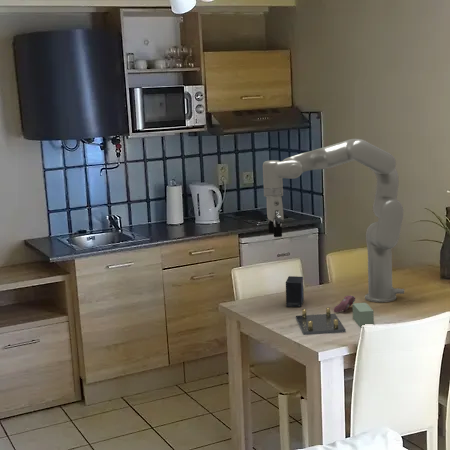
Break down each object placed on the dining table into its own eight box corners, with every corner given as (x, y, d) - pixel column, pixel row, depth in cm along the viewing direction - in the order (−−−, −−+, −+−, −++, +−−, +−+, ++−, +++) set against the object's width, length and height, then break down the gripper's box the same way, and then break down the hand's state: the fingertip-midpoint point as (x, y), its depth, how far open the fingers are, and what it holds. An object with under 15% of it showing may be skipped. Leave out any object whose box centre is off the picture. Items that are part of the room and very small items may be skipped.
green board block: (366, 318, 268) (365, 302, 267) (373, 326, 257) (373, 310, 256) (352, 318, 268) (352, 303, 267) (360, 327, 257) (359, 311, 256)
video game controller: (342, 317, 275) (349, 302, 272) (332, 311, 277) (339, 296, 274) (351, 310, 283) (359, 296, 280) (342, 304, 285) (349, 290, 282)
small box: (302, 307, 286) (301, 282, 284) (285, 307, 287) (284, 282, 285) (304, 300, 296) (303, 275, 294) (288, 300, 297) (287, 275, 295)
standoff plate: (335, 315, 272) (334, 305, 271) (345, 332, 252) (345, 321, 252) (295, 318, 272) (295, 308, 271) (303, 334, 252) (303, 323, 251)
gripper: (287, 193, 273) (289, 237, 276) (277, 189, 290) (279, 230, 293) (268, 195, 272) (270, 239, 275) (259, 190, 289) (261, 232, 292)
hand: (275, 234), depth 284 cm, fingers open, 9 cm apart
